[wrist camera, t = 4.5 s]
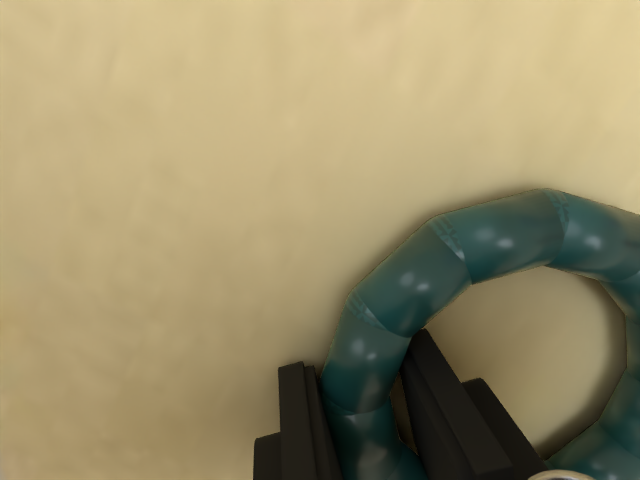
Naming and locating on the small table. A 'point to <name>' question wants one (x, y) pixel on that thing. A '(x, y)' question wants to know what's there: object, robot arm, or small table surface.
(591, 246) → the ring
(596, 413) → the small table surface
